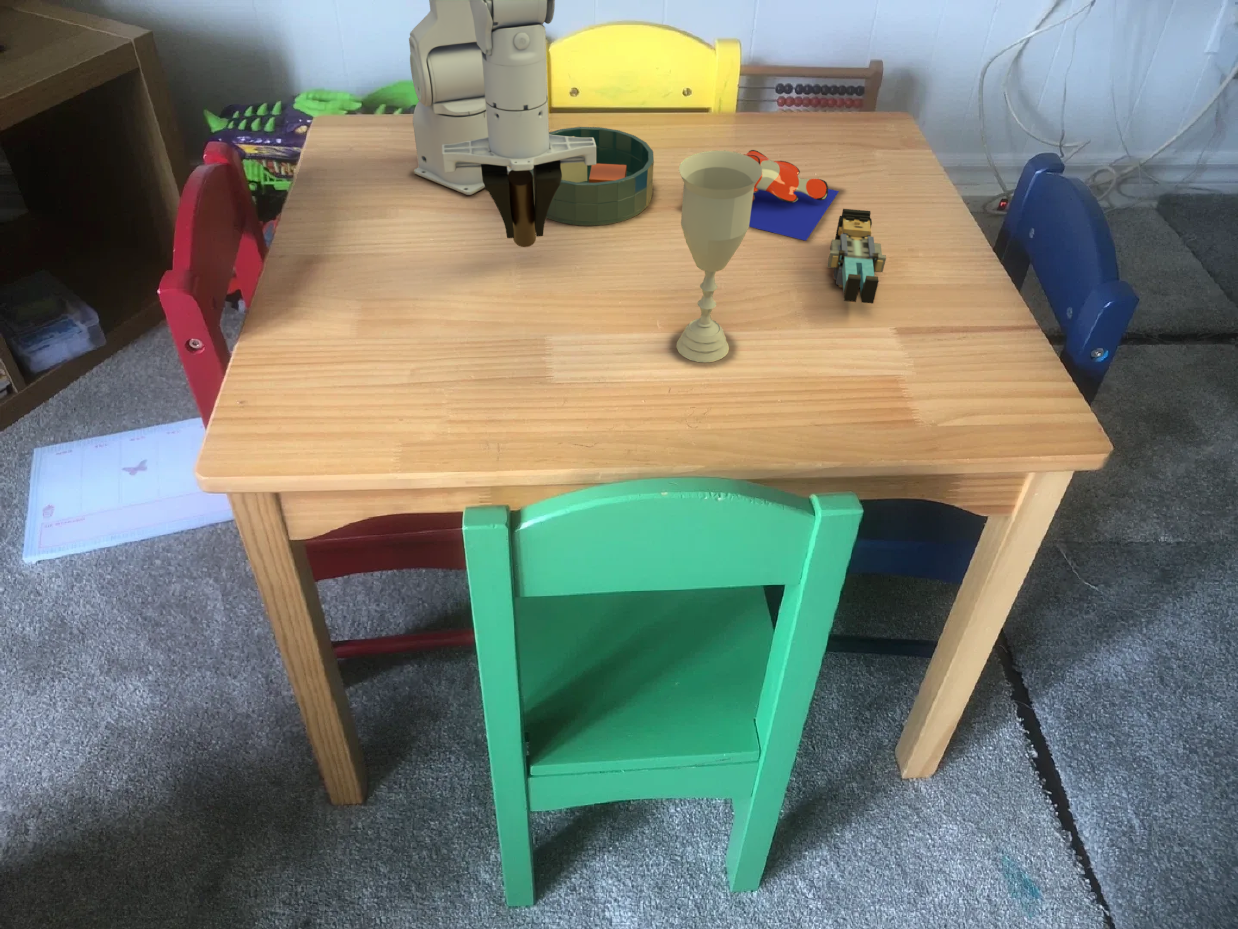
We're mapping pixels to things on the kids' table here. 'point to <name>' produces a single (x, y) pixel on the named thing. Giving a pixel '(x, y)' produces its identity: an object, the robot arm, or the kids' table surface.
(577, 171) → the cream block
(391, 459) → the kids' table surface
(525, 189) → the dark brown cylinder
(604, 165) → the terracotta block
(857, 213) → the toy
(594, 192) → the bowl
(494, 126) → the robot arm
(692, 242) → the chalice
